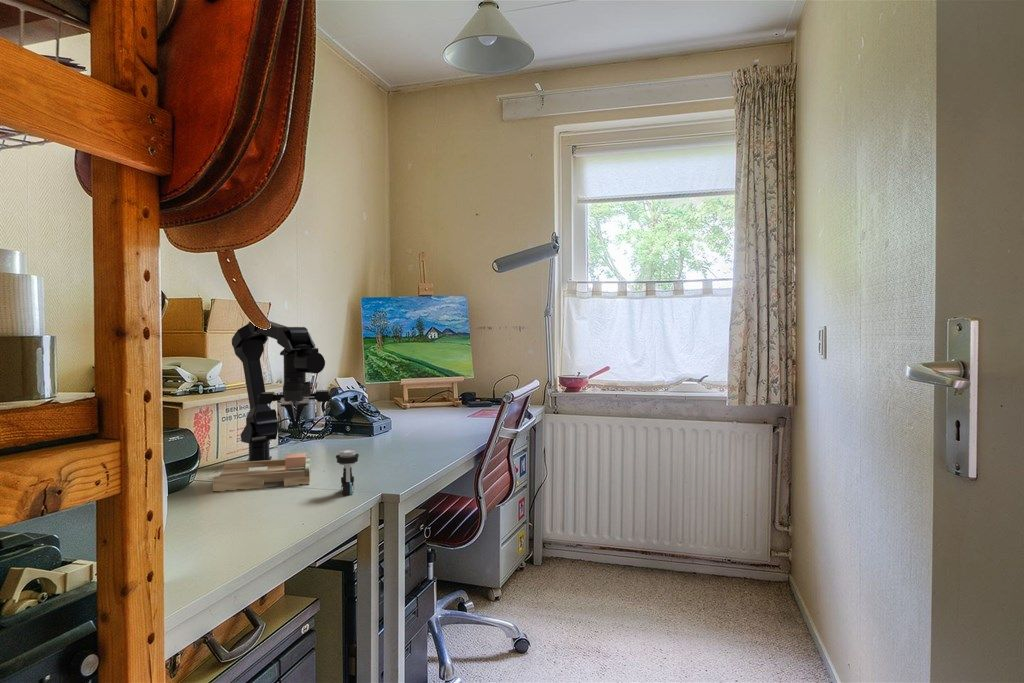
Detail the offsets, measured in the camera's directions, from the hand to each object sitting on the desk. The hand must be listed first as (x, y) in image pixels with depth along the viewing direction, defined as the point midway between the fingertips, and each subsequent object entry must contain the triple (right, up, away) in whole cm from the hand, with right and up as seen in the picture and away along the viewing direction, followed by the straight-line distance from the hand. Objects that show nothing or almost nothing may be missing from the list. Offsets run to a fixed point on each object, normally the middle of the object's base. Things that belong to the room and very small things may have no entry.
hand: (295, 428), depth 160 cm
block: (+3, -10, -7) cm, 13 cm away
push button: (+20, -13, -20) cm, 32 cm away
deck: (-4, -12, -9) cm, 16 cm away
